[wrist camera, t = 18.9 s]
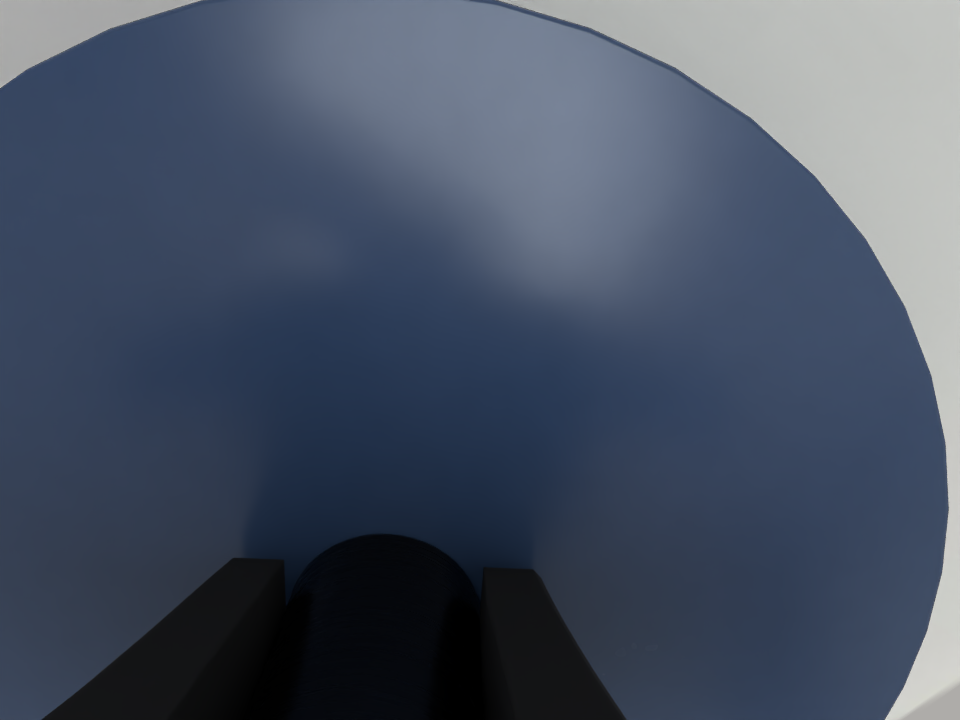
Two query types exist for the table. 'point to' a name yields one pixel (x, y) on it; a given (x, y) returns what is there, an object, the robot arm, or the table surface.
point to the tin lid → (448, 368)
